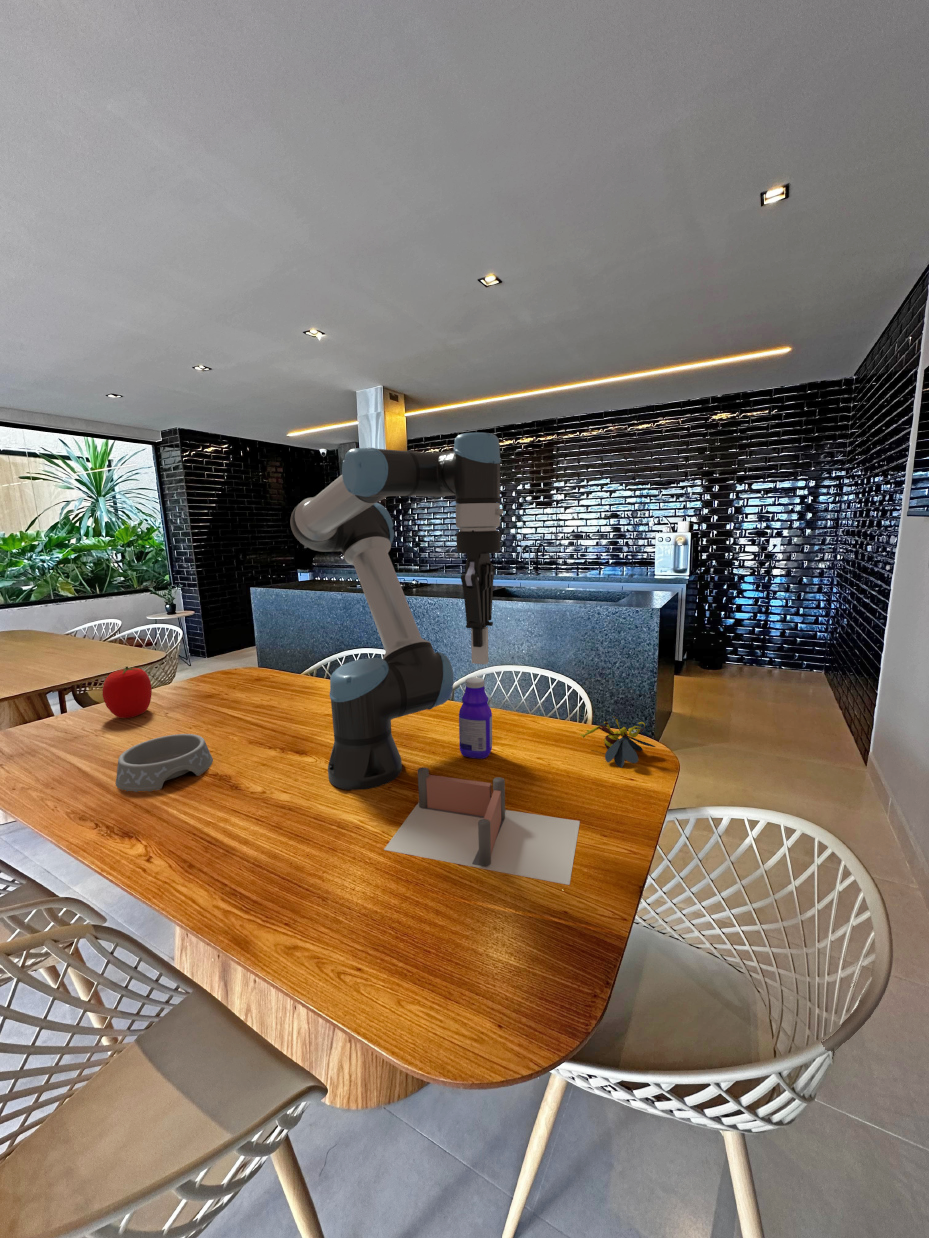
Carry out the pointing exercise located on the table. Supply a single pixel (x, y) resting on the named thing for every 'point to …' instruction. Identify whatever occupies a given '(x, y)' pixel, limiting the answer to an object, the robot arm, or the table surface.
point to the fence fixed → (457, 793)
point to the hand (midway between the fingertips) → (480, 662)
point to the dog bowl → (161, 761)
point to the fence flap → (489, 829)
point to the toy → (620, 743)
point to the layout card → (517, 850)
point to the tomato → (127, 692)
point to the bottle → (475, 721)
